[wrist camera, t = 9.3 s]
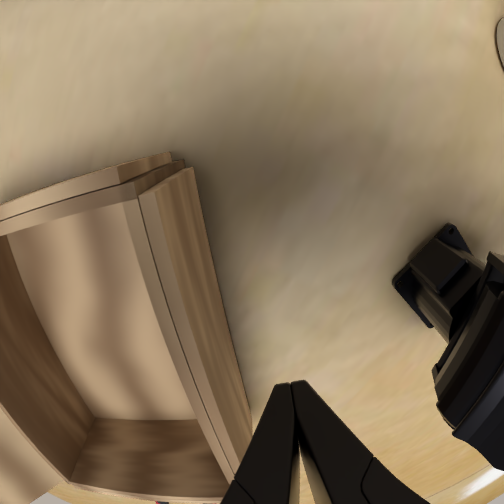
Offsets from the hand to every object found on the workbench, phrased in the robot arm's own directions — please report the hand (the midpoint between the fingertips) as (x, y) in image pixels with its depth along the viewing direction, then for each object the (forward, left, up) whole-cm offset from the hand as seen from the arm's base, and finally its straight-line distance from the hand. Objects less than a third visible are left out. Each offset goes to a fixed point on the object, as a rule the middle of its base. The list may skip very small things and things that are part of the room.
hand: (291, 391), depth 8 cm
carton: (+3, +13, -13) cm, 18 cm away
